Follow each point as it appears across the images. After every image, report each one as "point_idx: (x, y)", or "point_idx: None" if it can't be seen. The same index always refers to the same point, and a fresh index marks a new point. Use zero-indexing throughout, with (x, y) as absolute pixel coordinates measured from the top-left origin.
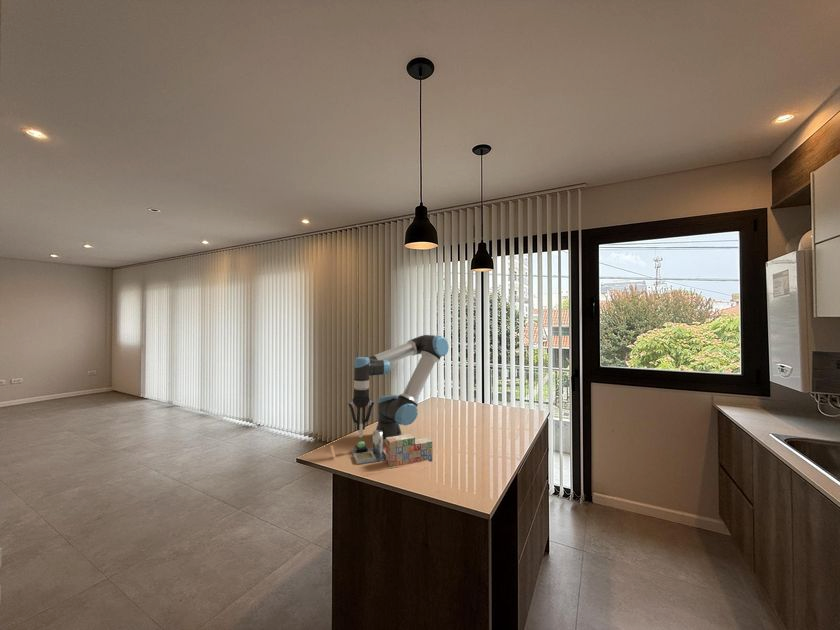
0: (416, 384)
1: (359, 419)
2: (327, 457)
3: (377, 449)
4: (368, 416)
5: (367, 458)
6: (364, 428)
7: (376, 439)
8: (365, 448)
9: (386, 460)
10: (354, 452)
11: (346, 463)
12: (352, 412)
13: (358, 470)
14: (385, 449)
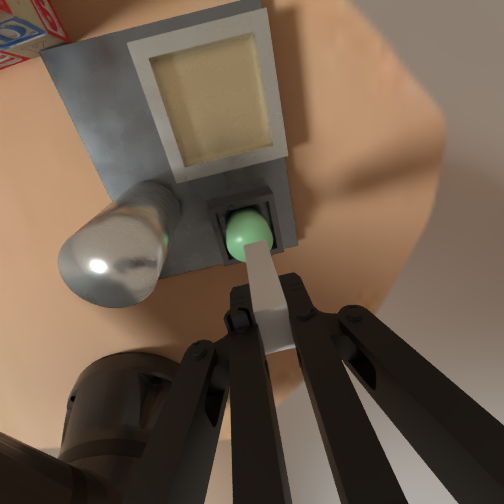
0: None
1: (304, 346)
2: (408, 185)
3: (140, 188)
4: (180, 402)
5: (199, 110)
6: (232, 293)
7: (129, 210)
8: (219, 206)
9: (43, 12)
10: (279, 213)
11: (320, 85)
12: (490, 433)
13: None
14: (3, 7)
